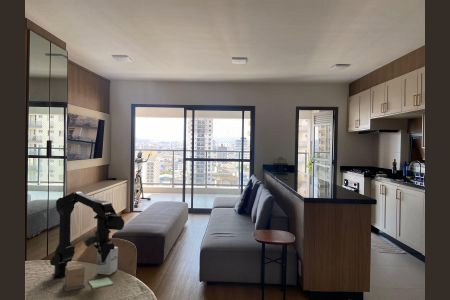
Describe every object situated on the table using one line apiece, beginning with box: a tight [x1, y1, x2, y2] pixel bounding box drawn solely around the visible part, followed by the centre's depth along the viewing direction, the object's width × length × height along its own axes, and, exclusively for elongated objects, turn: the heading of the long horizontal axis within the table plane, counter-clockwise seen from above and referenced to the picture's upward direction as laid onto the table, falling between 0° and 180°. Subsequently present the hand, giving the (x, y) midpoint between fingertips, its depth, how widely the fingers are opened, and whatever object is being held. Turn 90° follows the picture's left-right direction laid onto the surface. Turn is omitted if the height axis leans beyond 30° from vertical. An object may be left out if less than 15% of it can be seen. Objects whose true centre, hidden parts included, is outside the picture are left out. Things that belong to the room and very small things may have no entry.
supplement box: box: [97, 246, 119, 276], centre depth 157 cm, size 7×7×13 cm
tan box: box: [62, 263, 86, 292], centre depth 137 cm, size 7×8×9 cm
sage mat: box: [88, 277, 114, 290], centre depth 141 cm, size 9×9×1 cm
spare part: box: [96, 252, 107, 266], centre depth 142 cm, size 5×5×5 cm
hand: (101, 261), depth 142 cm, fingers closed on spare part, 4 cm apart
